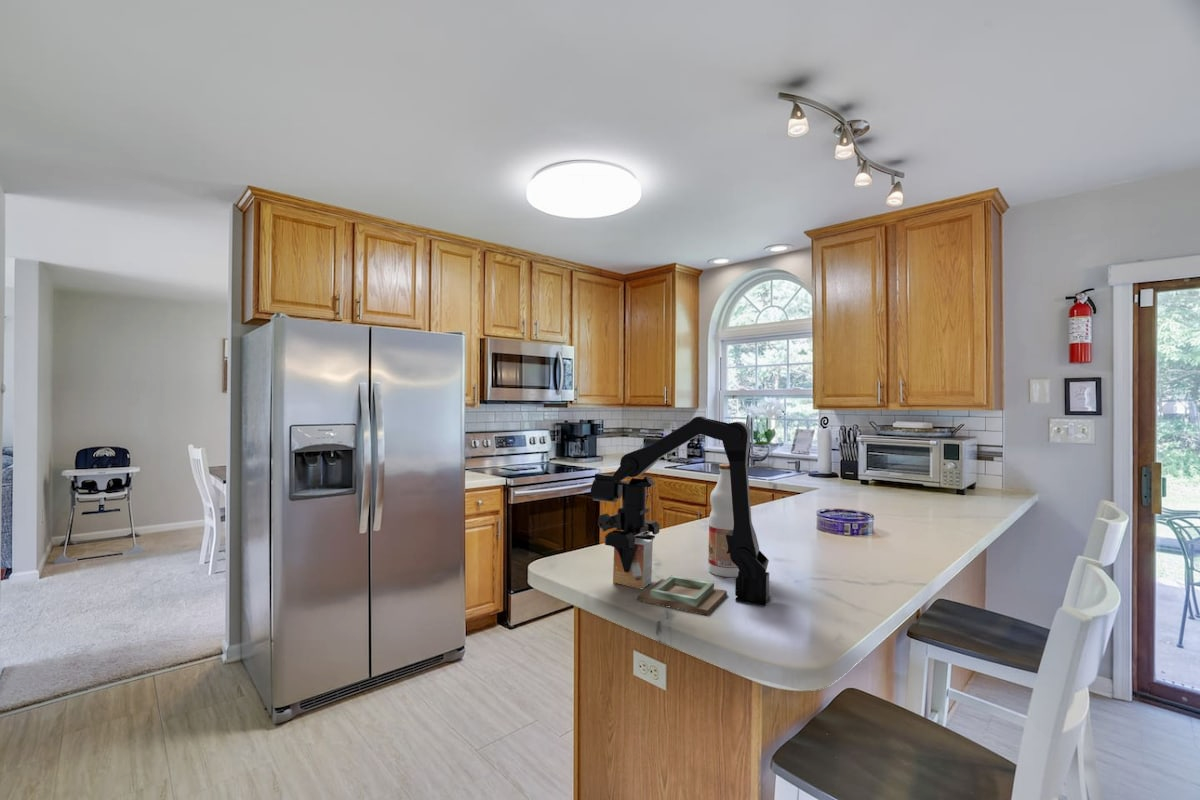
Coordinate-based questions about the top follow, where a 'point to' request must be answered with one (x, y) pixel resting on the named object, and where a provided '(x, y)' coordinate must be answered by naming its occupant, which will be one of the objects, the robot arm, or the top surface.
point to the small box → (635, 566)
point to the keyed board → (684, 594)
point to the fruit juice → (721, 526)
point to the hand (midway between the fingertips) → (632, 568)
